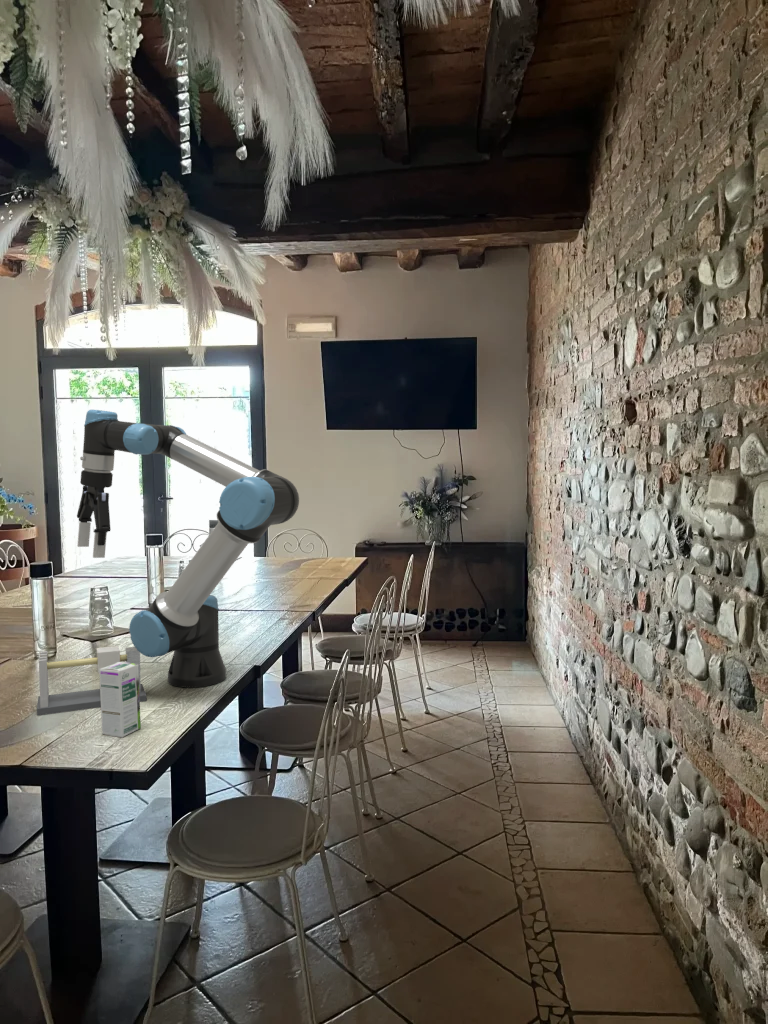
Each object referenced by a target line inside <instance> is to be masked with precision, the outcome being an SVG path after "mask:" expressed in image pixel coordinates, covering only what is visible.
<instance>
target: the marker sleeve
mask: <svg viewBox="0 0 768 1024" xmlns="http://www.w3.org/2000/svg"><path fill="white" fill-rule="evenodd" d="M120 655H121V650H120V647H119V646H118V645H116V646H105V647H98V648H97V647H96V657H98V664H96V667H97V668H96V669H97V673H98V674H99V669H101V668H104V667H107V666H110V665H113V664H116V663H117V662H120Z"/></svg>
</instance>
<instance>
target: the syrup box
mask: <svg viewBox="0 0 768 1024" xmlns="http://www.w3.org/2000/svg"><path fill="white" fill-rule="evenodd" d="M98 674H99V689H100V697H101V707H100V712H101V713H100V716H101V733H102V735H106V736H109V737H116V738H124V737H126V736H128V735H130V734H132V733H135V732H136V731H137V730H140V729H141V727H142V725H141V721H142V720H141V702H140V696H139V670H138V664H135V663H129V662H126V661H121V662H117V663H116V664H113V665H110V666H107V667H104V668H101V669H99V673H98Z"/></svg>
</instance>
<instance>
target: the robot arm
mask: <svg viewBox="0 0 768 1024" xmlns="http://www.w3.org/2000/svg"><path fill="white" fill-rule="evenodd" d="M83 427H84V429H83V432H84V433H83V434H84V435H83V447H82V456H80V461H81V467H82V470H81V472H80V484H81V485H82V493H81V497H80V501H79V506H78V508H77V509H78V510H77V514H76V517H77V519H78V533H77V534H78V535H77V536H78V537H77V545H76V546H77V547H78V548H80V547H82V548H84V547H85V548H86V547H88V548H89V547H90V538H91V537H90V535H91V524H92V522H93V520H92V515H93V518H94V523H95V524H94V525H95V528H94V530H93V533H94V537H93V538H94V539H93V550H92V558H94V559H97V558H98V559H99V558H100V559H104V558H105V557H106V545H107V533H108V532H111V518H110V503H109V501H110V500H109V499H110V493H109V492H105V488H111V487H112V486H113V475H114V474H113V472H112V471H114V467H115V466H114V465H115V452H116V451H119V452H124V453H131V454H133V455H140V456H141V455H142V456H143V455H146V456H147V455H150V454H158V455H159V454H160V455H163V456H165V457H167V458H169V459H171V460H173V461H175V462H177V463H179V464H181V465H183V466H185V467H186V468H188V469H191V470H193V471H194V472H197V473H198V474H200V475H203V476H204V477H206V478H208V479H210V480H212V481H213V482H215V483H218V484H220V485H222V486H223V487H224V489H223V491H222V492H221V494H220V497H219V502H218V503H219V505H220V506H219V507H218V508H219V509H218V511H217V512H216V519H217V524H216V525H215V526H214V528H213V529H212V531H211V532H210V534H208V536H207V537H206V539H205V540H204V542H203V543H202V544H201V546H200V547H199V549H198V550H197V552H195V554H194V556H193V557H192V558H191V560H190V561H189V562H188V564H187V565H186V567H185V568H184V569H183V571H181V574H179V576H178V578H177V579H176V580H175V582H174V583H173V585H172V586H171V587H170V588H169V590H168V591H163V592H160V593H159V594H157V596H156V598H155V599H154V600H153V602H152V603H150V604H151V605H150V606H149V607H148V608H147V609H144V610H140V611H139V612H137V613H135V614H134V615H133V617H132V618H131V620H130V623H129V627H128V628H129V630H128V632H129V634H130V636H129V637H130V641H131V643H132V644H133V647H135V648H136V649H137V650H138V651H139V652H140V655H141V654H142V655H143V656H145V657H148V658H157V657H162V656H166V654H168V653H171V652H173V654H172V657H171V662H170V664H169V668H168V671H167V683H168V684H169V685H171V686H173V687H178V688H179V687H180V688H202V687H208V686H212V685H215V684H219V683H221V682H224V681H225V680H226V678H227V668H226V666H225V663H224V660H223V657H222V654H221V651H220V646H219V645H220V641H219V639H220V638H219V637H220V635H219V628H220V627H219V611H220V610H219V609H220V608H219V601H218V598H217V597H216V596H215V595H211V594H212V593H213V592H214V590H215V589H216V587H217V586H218V585H219V584H220V583H221V581H222V579H223V578H224V577H225V576H226V574H227V572H228V571H229V570H230V569H231V568H232V566H233V565H234V564H235V562H236V560H238V558H239V557H240V555H241V554H242V553H243V551H244V550H245V549H246V547H247V546H248V544H249V545H250V544H256V543H258V542H259V541H260V540H261V538H262V537H263V535H264V534H265V533H266V531H268V529H269V528H270V527H271V526H274V525H279V524H284V523H286V522H288V521H290V519H292V518H293V517H294V515H295V514H296V513H297V511H298V509H299V505H300V495H299V492H298V490H297V487H296V486H295V485H294V483H293V482H292V481H290V480H289V479H287V478H285V477H283V476H281V475H279V474H277V473H275V472H272V471H270V469H269V470H268V469H267V468H266V469H265V468H264V469H261V470H259V469H257V468H255V467H253V466H251V465H249V464H247V463H245V462H243V461H241V460H239V459H237V458H235V457H233V456H230V455H229V454H226V453H225V452H222V451H220V450H218V449H217V448H214V447H212V446H210V445H209V444H207V443H204V442H202V441H201V440H198V439H196V438H194V437H191V436H189V435H188V434H187V433H186V430H184V429H183V428H181V427H179V426H175V425H172V424H171V425H166V424H165V425H163V424H152V423H150V424H149V423H140V422H139V423H138V422H130V421H123V420H122V421H121V420H119V419H118V413H117V412H115V411H110V410H109V411H108V410H99V409H88V410H87V411H86V415H85V421H84V424H83Z"/></svg>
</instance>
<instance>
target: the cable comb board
mask: <svg viewBox="0 0 768 1024" xmlns="http://www.w3.org/2000/svg"><path fill="white" fill-rule="evenodd" d="M48 660H49V659H48V651H47V650H45V651H40V652H39V657H38V674H39V675H38V678H39V680H38V681H39V695H38V696H37V697H38V698H37V703H36V704H37V705H36V716H43V715H52V714H59V713H66V712H67V713H68V712H72V711H73V712H74V711H75V712H76V711H80V710H81V711H82V710H88V709H95V708H96V709H97V708H101V697H100V688H97V689H86V690H80V691H71V692H63V693H55V694H54V693H53V694H49V693H50V692H49V691H50V690H49V670H53V669H54V670H56V669H63V668H74V667H82V666H91V665H97V664H98V657H97V656H96V657H88V658H79V659H69V660H60V661H58V660H57V661H51V662H48ZM120 662H129V663H135V664H138V670H139V696H140V703H142V702H143V703H144V702H147V693H146V691H145V687H144V684H143V683H141V653H140V652H139V651H138V650H137V649H136V648H135V646H129V647H125V654H120Z"/></svg>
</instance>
